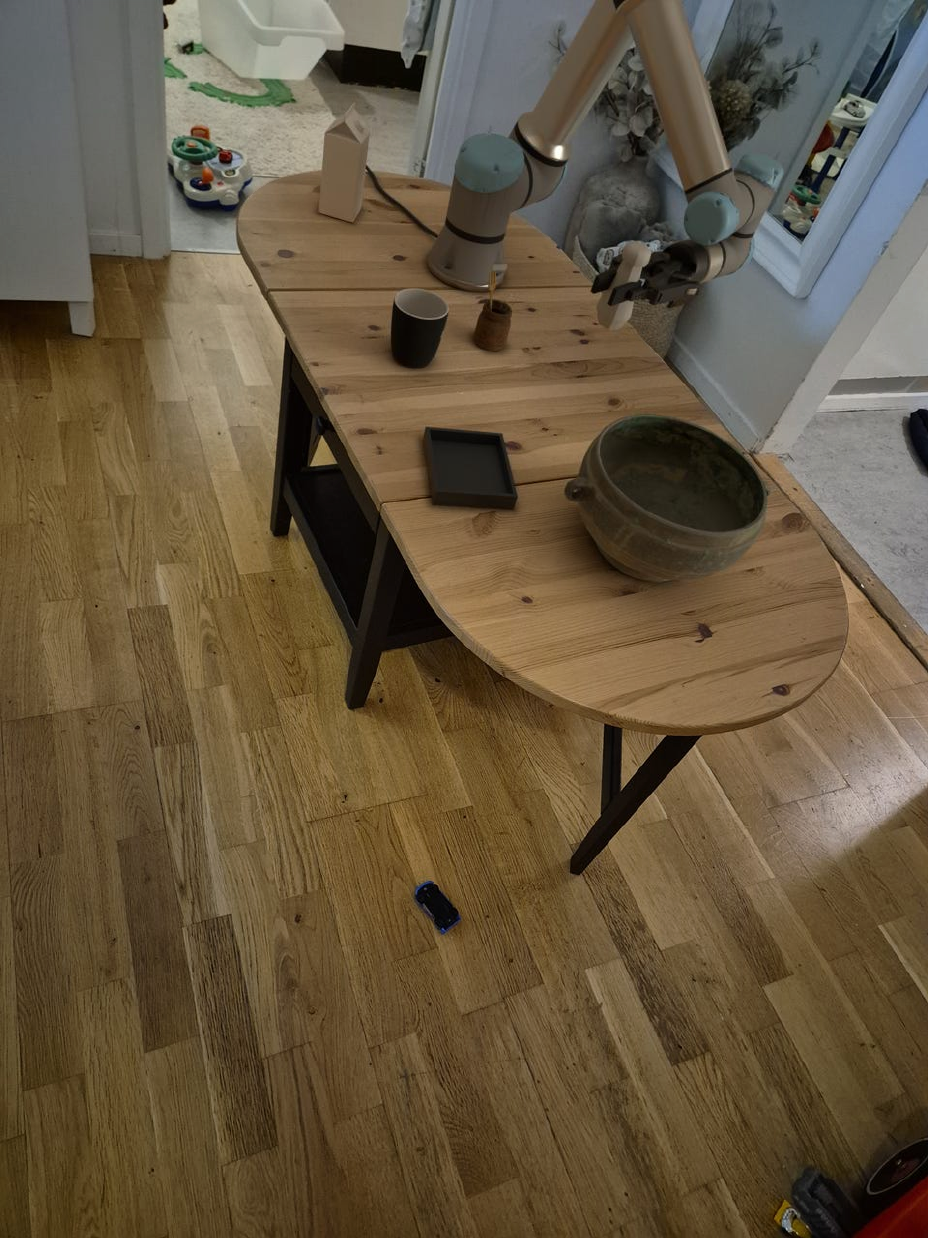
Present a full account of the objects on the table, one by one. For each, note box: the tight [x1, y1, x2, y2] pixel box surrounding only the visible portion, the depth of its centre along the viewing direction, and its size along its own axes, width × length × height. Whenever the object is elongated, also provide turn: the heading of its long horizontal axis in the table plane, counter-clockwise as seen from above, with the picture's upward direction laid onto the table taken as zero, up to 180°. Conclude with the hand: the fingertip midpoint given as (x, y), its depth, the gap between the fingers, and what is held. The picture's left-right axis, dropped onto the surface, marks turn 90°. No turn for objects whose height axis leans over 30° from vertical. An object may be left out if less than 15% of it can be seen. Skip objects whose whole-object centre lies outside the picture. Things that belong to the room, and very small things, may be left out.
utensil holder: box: [473, 270, 517, 352], centre depth 139 cm, size 6×6×12 cm
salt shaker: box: [596, 241, 652, 331], centre depth 126 cm, size 6×6×13 cm
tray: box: [422, 426, 519, 511], centre depth 119 cm, size 14×12×3 cm
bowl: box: [564, 413, 772, 583], centre depth 113 cm, size 32×26×15 cm
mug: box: [390, 287, 449, 369], centre depth 133 cm, size 12×9×10 cm
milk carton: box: [318, 102, 371, 223], centre depth 155 cm, size 7×7×19 cm
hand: (603, 290), depth 122 cm, fingers closed on salt shaker, 3 cm apart
